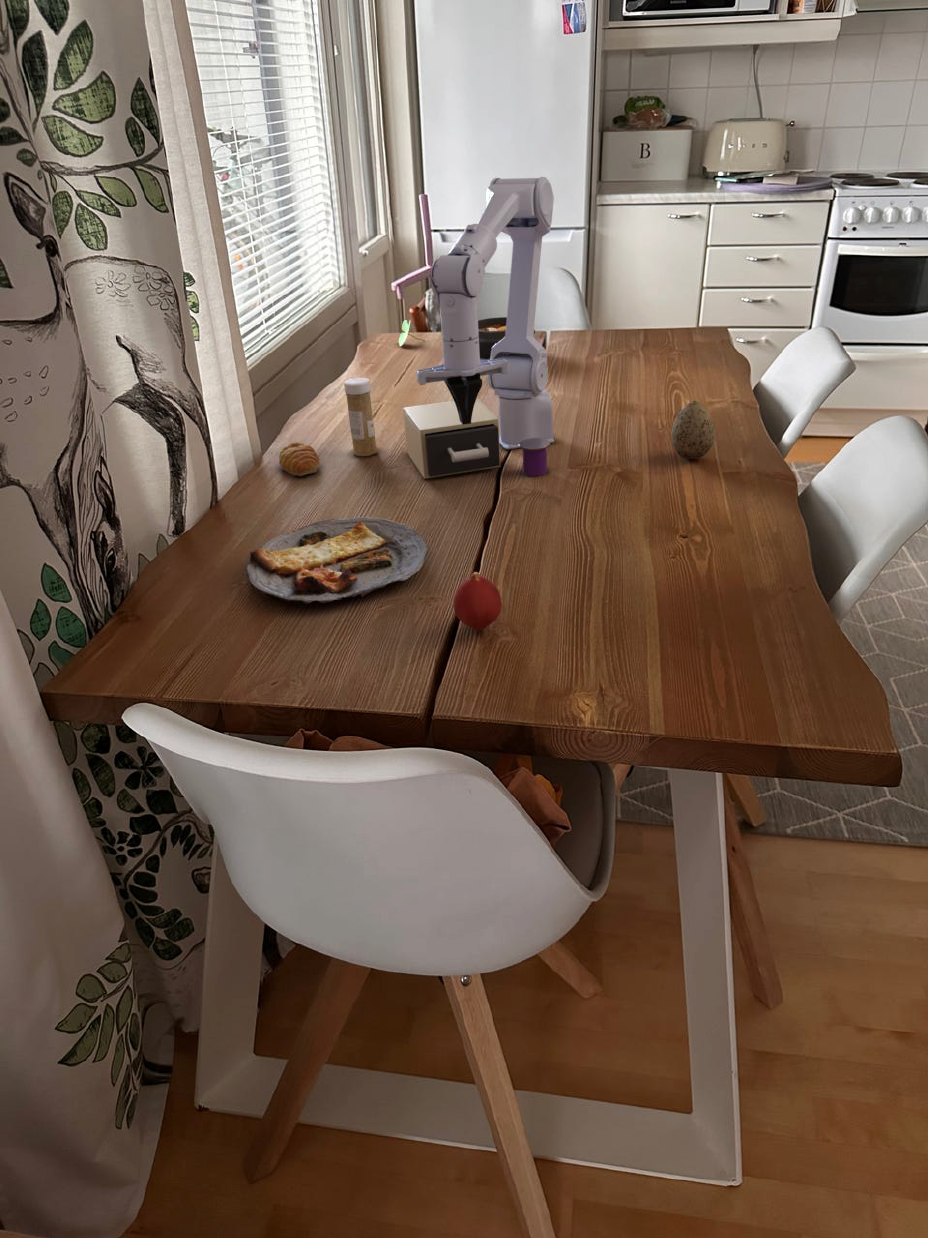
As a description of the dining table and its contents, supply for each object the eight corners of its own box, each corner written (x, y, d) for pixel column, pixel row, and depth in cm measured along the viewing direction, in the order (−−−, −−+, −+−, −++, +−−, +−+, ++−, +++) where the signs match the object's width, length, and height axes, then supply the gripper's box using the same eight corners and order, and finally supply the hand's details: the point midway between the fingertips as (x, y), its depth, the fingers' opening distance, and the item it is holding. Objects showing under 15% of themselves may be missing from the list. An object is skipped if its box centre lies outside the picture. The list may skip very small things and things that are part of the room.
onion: (453, 620, 116) (449, 562, 112) (499, 615, 116) (497, 558, 112) (457, 644, 110) (453, 585, 106) (505, 639, 111) (502, 580, 107)
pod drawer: (508, 475, 154) (506, 435, 151) (436, 486, 152) (433, 447, 149) (479, 443, 169) (477, 406, 166) (413, 453, 167) (410, 416, 163)
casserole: (539, 372, 211) (539, 334, 206) (458, 375, 212) (456, 338, 208) (538, 344, 232) (538, 310, 228) (465, 348, 234) (463, 314, 230)
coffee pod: (544, 464, 160) (543, 436, 158) (554, 474, 156) (554, 445, 153) (515, 469, 159) (514, 440, 157) (525, 479, 155) (524, 450, 152)
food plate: (277, 630, 116) (272, 605, 114) (228, 561, 134) (224, 539, 132) (454, 578, 125) (452, 554, 124) (386, 520, 143) (384, 499, 142)
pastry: (328, 473, 163) (325, 452, 161) (291, 481, 160) (287, 460, 159) (312, 457, 170) (309, 437, 168) (276, 465, 168) (273, 445, 166)
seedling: (416, 361, 243) (394, 351, 240) (419, 337, 247) (398, 326, 243) (429, 347, 238) (407, 337, 235) (433, 323, 241) (411, 312, 238)
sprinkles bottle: (381, 453, 170) (374, 380, 164) (360, 459, 168) (351, 385, 161) (370, 446, 174) (361, 375, 167) (348, 452, 172) (339, 380, 165)
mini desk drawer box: (500, 466, 160) (498, 418, 156) (424, 478, 158) (420, 430, 153) (478, 442, 172) (476, 397, 168) (407, 453, 169) (403, 407, 165)
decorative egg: (661, 460, 158) (664, 403, 153) (684, 448, 163) (687, 392, 158) (698, 468, 154) (703, 410, 149) (720, 456, 158) (725, 398, 154)
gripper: (420, 348, 139) (427, 435, 146) (512, 337, 142) (515, 423, 149) (410, 338, 145) (417, 422, 152) (499, 327, 148) (502, 410, 155)
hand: (465, 422), depth 151 cm, fingers closed
